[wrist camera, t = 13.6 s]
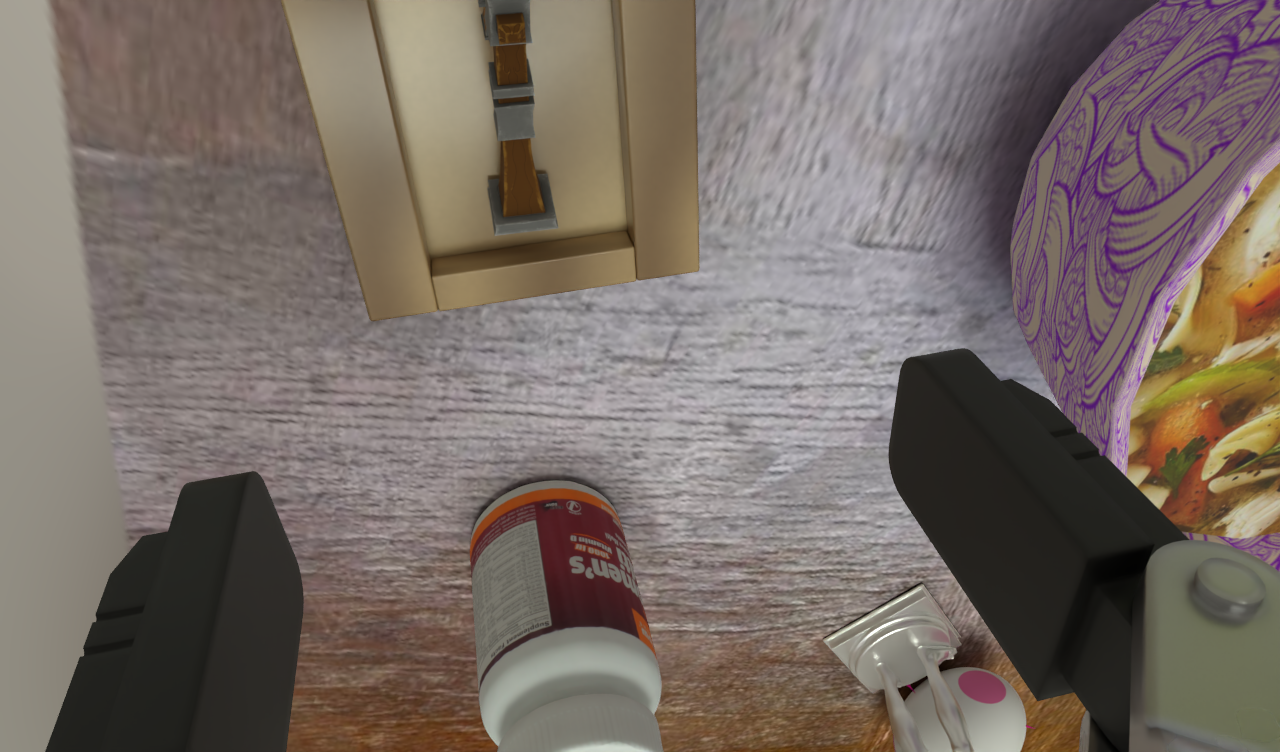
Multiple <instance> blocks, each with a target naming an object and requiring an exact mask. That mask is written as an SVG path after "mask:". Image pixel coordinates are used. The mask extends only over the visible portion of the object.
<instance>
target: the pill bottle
mask: <svg viewBox="0 0 1280 752" xmlns="http://www.w3.org/2000/svg"><path fill="white" fill-rule="evenodd" d="M470 562H471V577H472V592H473V608H474V623H475V637H476V653H477V671H478V687H479V704H480V710H481V716H482V721H483V724H484V726H485V729H486V731H487V733H488V734H489V736H490V738H491V739H492V740H493V741H494V742H495V744H496V745H497V746H499V747H498V751H497V752H663V748H662V744H661V737H660V731H659V727H658V723H657V720H656V718H655V716H654V713H655V711H656V709H657V706H658V703H659V700H660V696H661V676H660V671H659V666H658V662H657V658H656V654H655V650H654V646H653V642H652V638H651V634H650V630H649V625H648V622H647V619H646V615H645V611H644V608H643V602H642V599H641V596H640V591H639V588H638V584H637V580H636V577H635V573H634V569H633V565H632V562H631V558H630V553H629V550H628V548H627V544H626V540H625V536H624V532H623V529H622V526H621V523H620V519H619V517H618V514H617V512H616V510H615V508H614V507H613V505H612V504H611V503H610V502H609V501H608V500H607V499H606V498H605V497H604V496H603V495H601V494H600V493H598V492H597V491H595V490H593V489H591V488H589V487H587V486H584V485H581V484H578V483H575V482H571V481H556V480H554V481H542V482H536V483H531V484H528V485H524V486H521V487H519V488H516V489H514V490H512V491H510V492H508V493H506V494H504V495H503V496H501V497H500V498H498V499H497V500H495V501H494V502H493V503H492V504H491V505H490V506H489V507H488V508H487V509H486V510H485V511H484V512H483V513H482V514H481V516H480V517H479V518H478V520H477V522H476V524H475V527H474V529H473V532H472V536H471V542H470Z"/></svg>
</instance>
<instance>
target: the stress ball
mask: <svg viewBox="0 0 1280 752" xmlns="http://www.w3.org/2000/svg"><path fill="white" fill-rule="evenodd" d="M940 673H941V675H942V676H943V678H944V679H945V681H946V682H947V684H948V686H949V687H950V689H951V691H952V693H953V695H954V696H955V698H956V700H957V702H958V704H959V706H960V708H961V710H962V712H963V714H964V717H965V720H966V723H967V726H968V730H969V735H970V739H971V742H972V745H973V748H974V751H975V752H1020V751H1021V748H1022V746H1023V743H1024V739H1025V734H1026V727H1029V728H1032V727H1030V726H1027V725H1026V715H1025V710H1024V706H1023V703H1022V701H1021V699H1020V697H1019V695H1018V694H1017V692H1016V691H1015V689H1014V688H1013V687H1012V686H1011V685H1010V684H1009V683H1008V682H1007V681H1006V680H1005V679H1003V678H1002V677H1000V676H999V675H997V674H995V673H993V672H990V671H988V670H984V669H980V668H974V667H960V668H953V669H949V670H945V671H942V672H940ZM906 686H907V687H909V688H910V689H911V690H912V692H911V693H910V695H909V696H908V697H907V698H906V700H905V701H904V703H905V705H906V707H907V709H908V711H909V712H910V713H911V715H912V716H913V718H914V720H915V722H916V724H917V727H918V729H919V732H920V735H921V738H922V741H923V743H924V745H925V747H926V748H927V750H928V751H929V752H952V748H951V744H950V741H949V738H948V736H947V734H946V732H945V730H944V729H943V727H942V725H941V723H940V721H939V719H938V716H937V713H936V709H935V703H934V697H933V694H932V691H931V688H930V684H929V680H928V679H926V680H925V681H924V682H922V683H921V684H920V685H918V686H917V687H916V688H915V689H914V690H913V689H912V687H911V686H910V684H909V685H906ZM1034 729H1035V728H1034ZM893 742H894V749H895V752H903V751H902V749H901V748H900V746H899V745H898V743H897V741H896V739H895V737H894V735H893Z"/></svg>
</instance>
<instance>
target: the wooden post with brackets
mask: <svg viewBox="0 0 1280 752" xmlns="http://www.w3.org/2000/svg"><path fill="white" fill-rule="evenodd" d="M478 4H479V7H483V13H482V14H481V20H482V26H483V32H484V37H485V40H489V42H490V46H493V55H494V62H488V64H489V70H488V72H489V78H490V80H489V81H490V86H491V92H492V98H493V104H494V113H493V116H494V122H495V128H496V134H497V140H498V141H501V154H500V177H499V179H492V180H488V184H489V187H488V188H487V190H488V196H489V202H490V209H491V215H492V222H493V228H494V235H495V236H498V235H506V234H515V233H523V232H532V231H540V230H549V229H557V228H559V227H558V223H557V218H556V213H555V208H554V203H553V198H552V193H551V188H550V183H549V179H548V174H538V175H537V172H536V169H535V166H534V161H533V156H532V149H531V139H530V138H536V137H535V132H534V126H533V109H534V105H535V103H534V98H533V96H535V94H534V89H533V88H534V85H533V80H532V75H531V70H530V65H529V60H528V59H527V57H526V44H527V43H533V42H532V37H531V32H530V0H478Z"/></svg>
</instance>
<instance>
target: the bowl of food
mask: <svg viewBox="0 0 1280 752" xmlns="http://www.w3.org/2000/svg"><path fill="white" fill-rule="evenodd" d="M1010 252H1011V273H1012V295H1013V310H1014V312H1015V315H1016V317H1017V320H1018V322H1019V324H1020V327H1021V329H1022V332H1023V334H1024V336H1025V339H1026V341H1027V344H1028V346H1029V348H1030V350H1031V352H1032V354H1033V356H1034V358H1035V360H1036V362H1037V363H1038V365H1039V367H1040V369H1041V371H1042V373H1043V375H1044V377H1045V379H1046V381H1047V383H1048V385H1049V387H1050V389H1051V391H1052V393H1053V395H1054V397H1055V399H1056V401H1057V403H1058V405H1059V406H1060V408H1061V410H1062V412H1063V414H1064V415H1065V416H1066V417H1067V418H1068V419H1069V420H1070V421H1071V422H1072V423H1073V424H1074V425H1075V426H1076V427H1077V432H1078V433H1083V434H1084V435H1085V436H1086V437H1087V438H1088V439H1089V440H1090V441H1091V442H1092V443H1093V444H1094V445H1095V446H1096V447H1097V448H1098V449H1099V454H1100V455H1101V456H1103V455H1105V456H1106V457H1107V458H1108V459H1109V460H1110V461H1111V462H1112V463H1113V464H1114V465H1115V466H1116V467H1117V468H1118V469H1119V470H1120V471H1121V472H1122V473H1123V474H1124V475H1125V476H1126V477H1127V478H1128V479H1129V480H1130V481H1131V482H1132V483H1133V484H1134V485H1135V486H1136V487H1137V488H1138V489H1139V490H1140V491H1141V492H1142V493H1143V494H1144V495H1145V496H1146V497H1147V498H1148V499H1149V500H1150V501H1151V502H1152V503H1153V504H1154V505H1155V506H1156V507H1157V508H1158V509H1159V510H1160V511H1161V512H1162V513H1163V514H1164V515H1165V516H1166V517H1167V518H1168V519H1169V520H1170V521H1171V522H1172V523H1173V524H1174V525H1175V526H1176V527H1177V528H1178V529H1179V530H1180V531H1181V532H1182V533H1183V534H1184V535H1185V536H1186V537H1187V538H1188V539H1190V540H1202V541H1211V542H1216V543H1221V544H1225V545H1228V546H1231V547H1235V548H1237V549H1240V550H1242V551H1245V552H1247V553H1250V554H1251V555H1253V556H1255V557H1257V558H1259V559H1261V560H1263V561H1264V562H1266V563H1268V564H1269V565H1271V566H1272V567H1274V568H1275V569H1276V570H1278V571H1279V572H1280V0H1160V1H1159V2H1157V3H1156V4H1154V5H1153V6H1152V7H1150V8H1149V9H1147V10H1146V11H1145V12H1143V13H1142V14H1140V15H1139V16H1138V17H1136V18H1135V19H1133V20H1132V21H1131V22H1129V23H1128V24H1127V25H1126V27H1125V28H1124V29H1123V30H1122V31H1121V32H1120V33H1119V34H1118V35H1117V37H1116V38H1115V39H1114V40H1113V41H1112V42H1111V43H1110V44H1109V45H1108V47H1107V48H1106V49H1105V50H1104V51H1103V52H1102V53H1101V54H1100V55H1099V57H1098V58H1097V59H1096V60H1095V61H1094V62H1093V63H1092V64H1091V65H1090V67H1089V68H1088V69H1087V70H1086V71H1085V72H1084V73H1083V74H1082V75H1081V77H1080V78H1079V79H1078V80H1077V81H1076V82H1075V83H1074V84H1073V85H1072V87H1071V88H1070V90H1069V91H1068V93H1067V95H1066V97H1065V98H1064V100H1063V102H1062V104H1061V105H1060V107H1059V109H1058V111H1057V113H1056V114H1055V116H1054V118H1053V120H1052V121H1051V123H1050V125H1049V127H1048V128H1047V130H1046V132H1045V134H1044V135H1043V137H1042V139H1041V141H1040V142H1039V144H1038V146H1037V148H1036V149H1035V151H1034V153H1033V155H1032V157H1031V160H1030V164H1029V167H1028V171H1027V175H1026V178H1025V182H1024V185H1023V189H1022V192H1021V196H1020V200H1019V203H1018V207H1017V210H1016V214H1015V218H1014V221H1013V229H1012V237H1011V245H1010Z"/></svg>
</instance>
